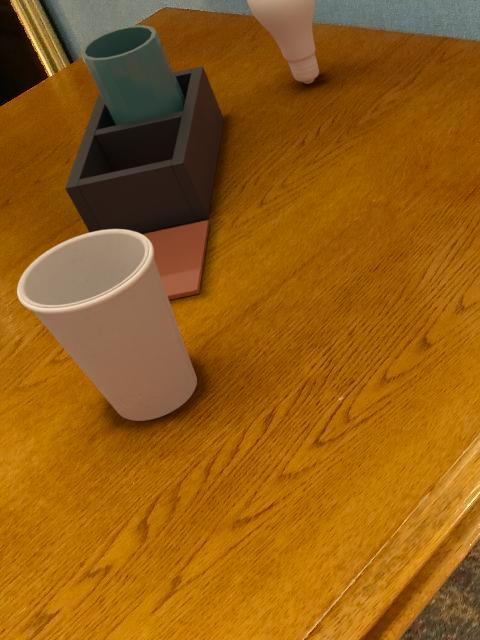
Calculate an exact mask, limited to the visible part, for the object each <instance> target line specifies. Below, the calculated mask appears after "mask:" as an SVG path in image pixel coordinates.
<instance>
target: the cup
mask: <svg viewBox="0 0 480 640" xmlns="http://www.w3.org/2000/svg"><path fill="white" fill-rule="evenodd" d="M162 43H163V42H162V40H161V38H160V36H159V35H158V31H157V30H156V29H155V28H154V27H153V26H151V25H145V24H138V25H129V26H124V27H119V28H115V29H112V30H110V31H107V32H104V33H102V34H100V35H98V36H96V37H94V38H92V39H90V40H89V41H88V42H87V43H86V44H84V45H83V47H82V48H81V50H80V56H81V59H82V60H83V63H84V65H85V66H86V69H87V70H88V72H89V74H90V77H91V79H92V81H93V83H94V85H95V87H96V89H97V91H98V94H99V93H100V95H101V97H102V99H103V101H104V103H105V105H106V107H107V109H108V112H109V114H110V116H111V118H112V120H113V122H114V124H115V126H116V125H121V124H125V123H130V122H134V121H139V120H144V119H148V118H153V117H157V116H162V115H166V114H171V113H176V112H180V111H183V109H184V104H185V97H184V95H183V93H182V90H181V88H180V86H179V83H178V81H177V79H176V76H175V74H174V72H175V71H174V69H173V68H172V67H173V66H172V64H171V62H170V60H169V58H168V55H167V53H166V51H165V48H164V45H163V44H162Z"/></svg>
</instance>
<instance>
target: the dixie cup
mask: <svg viewBox="0 0 480 640" xmlns="http://www.w3.org/2000/svg"><path fill="white" fill-rule="evenodd" d="M142 234H143V233H137V232H134V231H130V230H124V229H108V230H100V231H95V232H87V233H83V234H79V235H77V236H74V237H72V238H69V239H67V240H64V241H62V242H61V243H58V244H57V245H55V246H53V247H51V248H50V249H48V250H47V251H45V252H43V253H42V254H41V255H39V256H38V257H37V258H36V259H34V261H32V262H31V263H30V264H29V266H28V267H27V268H25V270H24V271H23V273H22V274H21V276H20V279H19V281H18V284H17V287H16V294H17V298H18V301H19V302H20V303H21V305H22V306H23V307H25V308H26V309H27V310H28V311H29V310H30V311H31V312H32V313H34V315H35V316H36V317H37V318H38V320H39V321H40V322H41V323H42V324H43V325H44V326H45V328H46V329H47V330H48V331H49V333H50V334H51V335H52V337H54V338H55V340H56V341H57V342H58V344H60V346H61V347H62V348H63V349H64V350H65V352H66V353H67V355H69V357H70V358H71V359H72V360H73V362H75V364H76V365H77V366H78V367H79V368H80V369H81V371H82V372H83V374H85V376H86V377H87V378H88V379H89V381H91V382H92V384H93V385H94V386H95V387H96V389H97V390H98V391H99V392H100V393H101V395H102V396H103V397H104V398H105V399H106V400H107V402H108V403H109V404H110V405H111V407H112V408H113V409H114V410H115V411H116V413H118V415H119V416H120V417H122V418H124V419H125V420H130V421H134V422H135V421H136V422H144V421H150V420H154V419H159V418H161V417H164V416H166V415H168V414H170V413H173V412H174V411H175V410H177V409H179V408H180V407H181V406H183V405H184V404H185V403H186V402H187V401H188V400H189V399H190V398H191V397H192V395H193V394H194V392H195V390H196V388H197V385H198V378H197V375H196V372H195V369H194V366H193V364H192V361H191V358H190V355H189V352H188V350H187V347H186V344H185V342H184V338H183V335H182V333H181V331H180V327H179V324H178V322H177V319H176V317H175V316H176V315H175V314H174V311H173V308H172V305H171V302H170V300H169V299H168V296H167V294H166V291H165V288H164V285H163V282H162V280H161V277H160V274H159V271H158V269H157V266H156V263H155V260H154V248H153V245H152V243H151V242H150V240H149V239H148V238H147V237H145V236H144V235H142Z"/></svg>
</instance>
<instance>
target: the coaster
mask: <svg viewBox="0 0 480 640" xmlns="http://www.w3.org/2000/svg"><path fill="white" fill-rule="evenodd" d="M210 225H211V224H210V221H209V220H208V219H205V220H201V221H196V222H191V223H187V224H182V225H177V226H173V227H168V228H164V229H159V230H154V231H150V232H145V233H141V234H142V235H144V236H145V237H147V238H148V239H149V240H150V242H151V243H152V245H153V248H154V260H155V263H156V266H157V269H158V271H159V274H160V277H161V280H162V282H163V285H164V288H165V291H166V294H167V296H168V299H169V301H171V300H172V301H173V300H176V299H182V298H185V297H191V296H194V295H195V296H196V295H199V294H200V290H201V283H202V277H203V270H204V263H205V257H206V251H207V243H208V238H209V232H210Z"/></svg>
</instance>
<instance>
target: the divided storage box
mask: <svg viewBox="0 0 480 640" xmlns="http://www.w3.org/2000/svg"><path fill="white" fill-rule="evenodd" d="M173 72H174V74H175V76H176V79H177V81H178V83H179V86H180V88H181V90H182V93H183V95H184V97H185V104H184V109H183V111H180V112H176V113H171V114H166V115H162V116H157V117H153V118H148V119H144V120H139V121H134V122H130V123H125V124H121V125H116V126H115V124H114V122H113V120H112V118H111V116H110V114H109V112H108V109H107V107H106V105H105V103H104V101H103V99H102V97H101V95H100V93H99V92H98V94H97V97H96V100H95V102H94V106H93V108H92V111H91V114H90V117H89V120H88V122H87V125H86V129H85V131H84V133H83V135H82V136H83V137H82V139H81V141H80V145H79V148H78V150H77V154H76V156H75V159H74V161H73V165H72V167H71V170H70V173H69V176H68V179H67V181H66V184H65V187H64V189H65V191H66V193H67V195H68V196H69V198H70V201H71V202H72V204H73V205H74V207H75V209H76V211H77V212H78V215H79V216H80V218H81V220H82V221H83V224H84V225H85V227H86V229H87V231H88V233H90V232H95V231H100V230H108V229H124V230H130V231H134V232H137V233H140V234H146V233H150V232H155V231H160V230H164V229H169V228H173V227H178V226H183V225H187V224H192V223H196V222H201V221H205V220H208V219H209V215H210V210H211V203H212V197H213V190H214V185H215V178H216V172H217V167H218V158H219V154H220V148H221V147H220V146H221V140H222V134H223V127H224V121H225V117H224V116H223V113H222V110H221V108H220V105H219V102H218V101H217V98H216V95H215V93H214V90H213V88H212V85H211V83H210V81H209V78H208V75H207V73H206V70H205V67H204V66H203V65H201V66H197V67H192V68H188V69H182V70H178V71H173Z"/></svg>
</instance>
